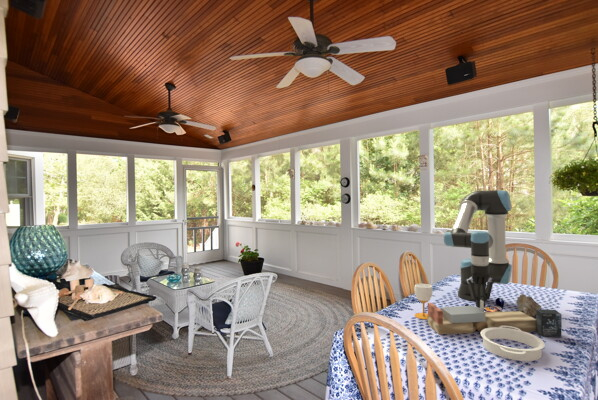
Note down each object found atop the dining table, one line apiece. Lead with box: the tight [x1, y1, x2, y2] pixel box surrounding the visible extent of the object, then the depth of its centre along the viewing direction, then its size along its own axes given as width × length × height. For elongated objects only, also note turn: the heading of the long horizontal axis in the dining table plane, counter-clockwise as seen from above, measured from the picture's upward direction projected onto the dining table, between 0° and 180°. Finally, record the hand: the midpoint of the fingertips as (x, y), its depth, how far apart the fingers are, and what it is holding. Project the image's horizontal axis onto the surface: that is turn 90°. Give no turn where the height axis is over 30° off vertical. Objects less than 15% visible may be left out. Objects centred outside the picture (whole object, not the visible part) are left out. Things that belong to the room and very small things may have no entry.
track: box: [427, 302, 536, 335], centre depth 161 cm, size 12×46×10 cm, turn 92°
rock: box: [516, 293, 542, 318], centre depth 176 cm, size 9×12×10 cm
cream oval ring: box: [480, 326, 546, 362], centre depth 139 cm, size 29×22×5 cm
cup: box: [414, 283, 434, 321], centre depth 176 cm, size 9×9×16 cm
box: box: [535, 308, 563, 338], centre depth 152 cm, size 8×6×11 cm
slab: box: [440, 305, 486, 324], centre depth 160 cm, size 10×16×4 cm, turn 92°
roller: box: [472, 322, 488, 332], centre depth 161 cm, size 10×5×5 cm
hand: (480, 313), depth 161 cm, fingers closed
